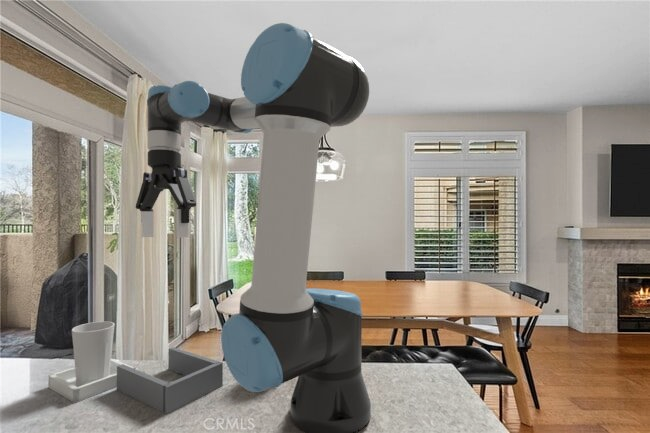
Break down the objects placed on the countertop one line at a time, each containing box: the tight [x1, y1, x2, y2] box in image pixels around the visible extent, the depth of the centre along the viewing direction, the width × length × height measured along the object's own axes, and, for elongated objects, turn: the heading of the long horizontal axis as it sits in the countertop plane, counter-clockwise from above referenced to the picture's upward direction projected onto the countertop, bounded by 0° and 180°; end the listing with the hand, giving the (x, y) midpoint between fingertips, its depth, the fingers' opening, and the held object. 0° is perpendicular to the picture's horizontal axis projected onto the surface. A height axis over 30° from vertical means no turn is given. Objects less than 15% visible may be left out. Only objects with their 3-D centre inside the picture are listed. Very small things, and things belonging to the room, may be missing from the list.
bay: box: [116, 346, 224, 415], centre depth 76 cm, size 18×13×5 cm
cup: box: [71, 320, 116, 387], centre depth 78 cm, size 8×8×12 cm
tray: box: [47, 357, 137, 404], centre depth 78 cm, size 12×12×3 cm
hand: (164, 237), depth 86 cm, fingers open, 13 cm apart
